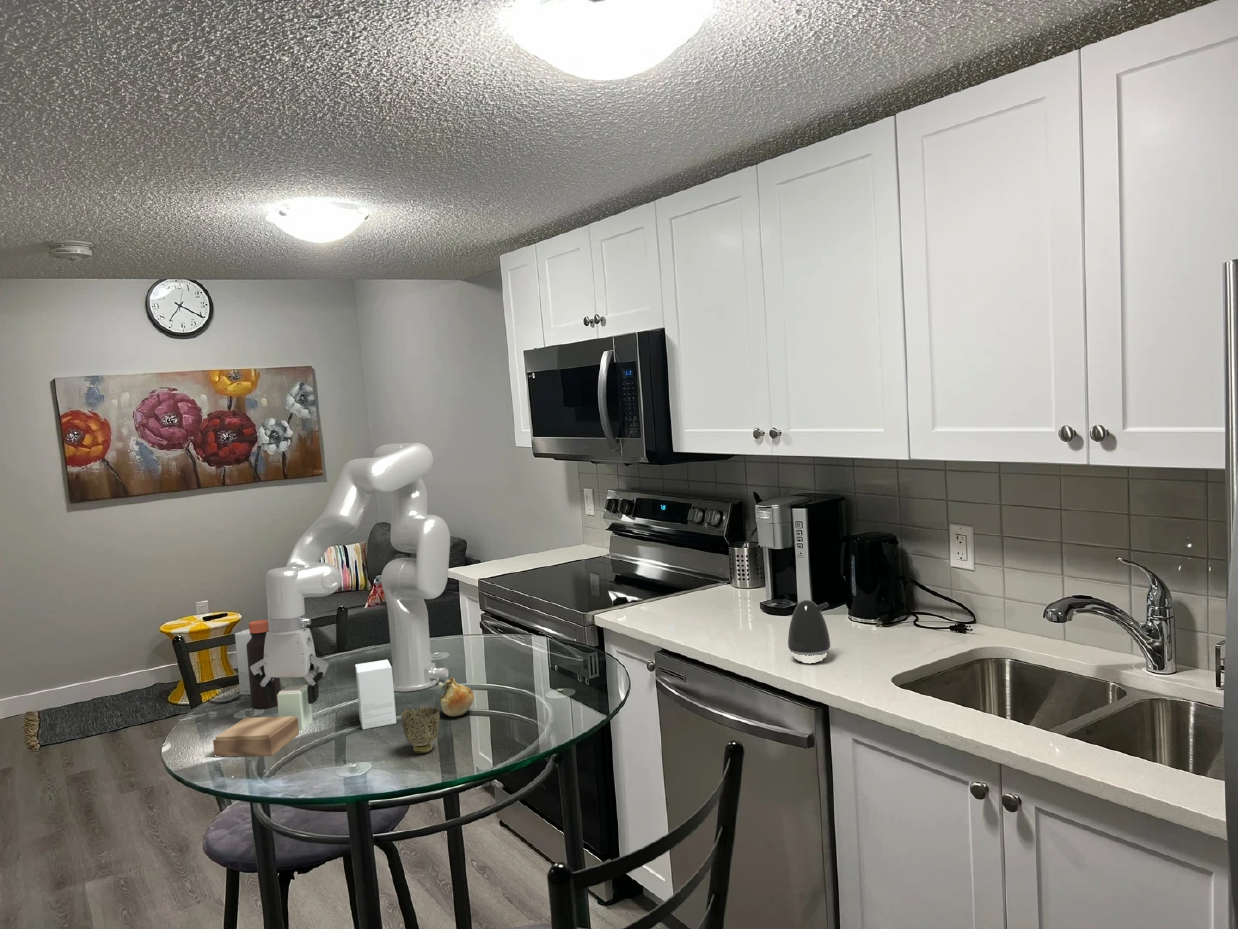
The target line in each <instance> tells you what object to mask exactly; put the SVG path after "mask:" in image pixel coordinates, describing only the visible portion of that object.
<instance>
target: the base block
mask: <svg viewBox="0 0 1238 929" xmlns="http://www.w3.org/2000/svg"><path fill="white" fill-rule="evenodd" d="M299 734H300V730H299V725H298V718H295V716H286V717H279V716H266V717H265V716H263V717H262V716H260V717H258V716H256V717H244V718H242V719H241V720H239V721H238V722H236V723H235V724H233V725H232V726H231V727H229V728H227V729H226V730H224V731H223V732H221V733H220V734H218V735H216V736H215V739H213V740H212V743H213V755H214V757H215V755H216V756H242V757H266V756H267V757H271V756H273V755H275V754H276V753H277V752H278V751H279V750H281V749H283V747H285V746H286V745H287V744H288V743H290V742H291V741H292V740H294V739H295V738H296V737H297V736H299Z"/></svg>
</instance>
